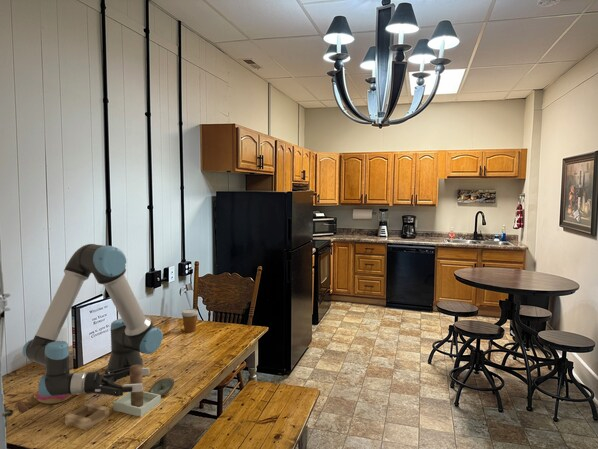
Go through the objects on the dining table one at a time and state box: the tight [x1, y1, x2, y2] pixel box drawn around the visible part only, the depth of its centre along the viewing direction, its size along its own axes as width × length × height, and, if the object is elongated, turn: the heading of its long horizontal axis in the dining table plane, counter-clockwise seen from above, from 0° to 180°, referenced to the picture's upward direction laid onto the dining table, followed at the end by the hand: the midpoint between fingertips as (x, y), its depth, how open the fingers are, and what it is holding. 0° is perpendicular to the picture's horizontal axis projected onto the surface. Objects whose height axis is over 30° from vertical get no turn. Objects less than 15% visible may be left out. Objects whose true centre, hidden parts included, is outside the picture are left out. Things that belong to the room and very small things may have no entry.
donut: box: [36, 390, 74, 405], centre depth 165 cm, size 14×13×5 cm
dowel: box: [129, 365, 144, 407], centre depth 158 cm, size 4×4×15 cm
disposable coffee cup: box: [181, 308, 199, 334], centre depth 244 cm, size 10×10×12 cm
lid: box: [148, 377, 175, 397], centre depth 170 cm, size 11×10×5 cm
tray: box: [112, 390, 162, 417], centre depth 159 cm, size 13×11×3 cm
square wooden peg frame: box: [64, 402, 110, 431], centre depth 149 cm, size 10×10×3 cm
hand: (146, 379), depth 159 cm, fingers open, 13 cm apart
